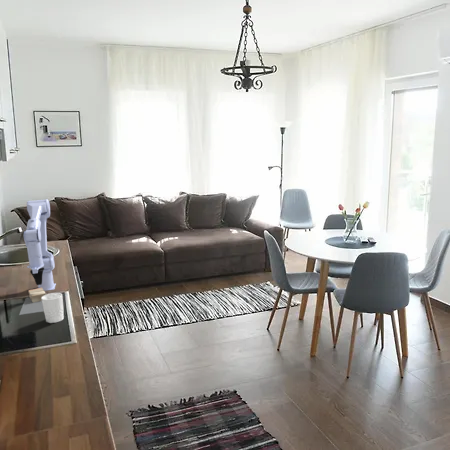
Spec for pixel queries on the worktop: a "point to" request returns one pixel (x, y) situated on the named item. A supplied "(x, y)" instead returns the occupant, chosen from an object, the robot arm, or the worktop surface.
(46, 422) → the worktop surface
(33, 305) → the rubber mat
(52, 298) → the white cup
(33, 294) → the birch slab
